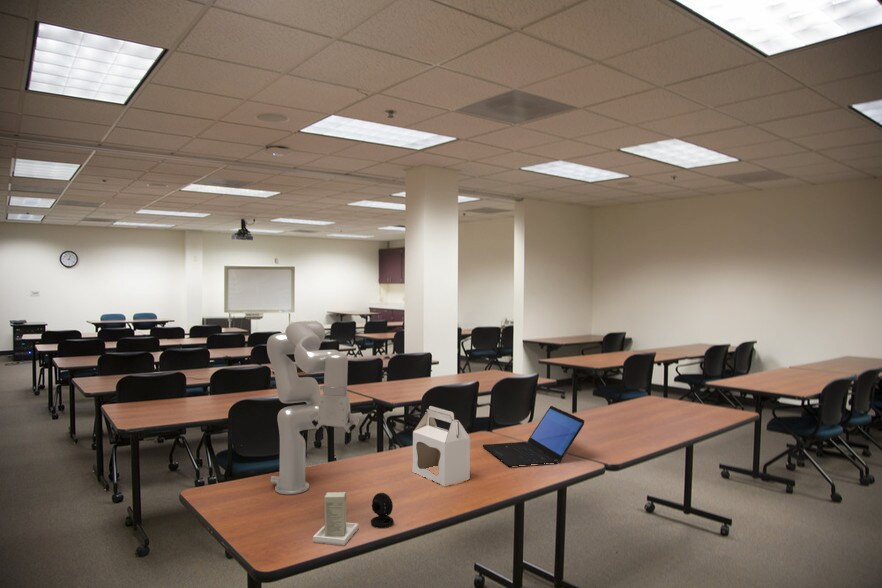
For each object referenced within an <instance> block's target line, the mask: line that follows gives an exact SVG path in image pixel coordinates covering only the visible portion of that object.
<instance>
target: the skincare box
mask: <svg viewBox="0 0 882 588" xmlns="http://www.w3.org/2000/svg"><path fill="white" fill-rule="evenodd" d="M323 501H324V502H323V504H324V505H323V507H324V508H323V509H324V512H323V513H324V525H325V536H344V535H345V533H346V522H347V492H346V491H333V492H332V491H331V492H325V495H324V497H323Z"/></svg>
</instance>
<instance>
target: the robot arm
mask: <svg viewBox="0 0 882 588" xmlns="http://www.w3.org/2000/svg"><path fill="white" fill-rule="evenodd" d="M325 338H326V329H325V327H324V325H323V324H322V323H321V322H319V321H315V320H314V321H295V322H292V323H289V325H287V327H286V329H285V331H284V332H280V333H275V334H274V333H273V334H272V335H270V336H269V337H268V339H267V343H266V351H267V356H268V359H269V362H270V364H271V366H272V369H273V372H274V379H275V387H276V390H277V391H276V392H277V397H278V400H279V401H280V402H281V403H283V404H295V403H304V402H305V404H296V405H291V406H286V407H283V408H282V409H280V410H279V411H278V414H277V419H276V420H277V425H278V432H279V433H278V434H279V474H278V476H276V475H271V476H270V483H272V484H276V485H275V487H274V491H275V492H276V493H277V494H281V495H296V494H301V493H304V492H307V491H308V490H309V489H310V484H309V482H307V481H306V450H307V448H306V445H307V444H306V440H305V438H304V437H303V435H302V434H301V433H300V432H301V431H305V430H306V431H307V430H312V429H315V430H316V439H317V442H321V441H322V440H324V429H325V428H324V427H323V426H326V427H334V428H343V429H344V430H345V432H344V445H345V446H347V445H348V444H350V443H351V441H352V433H353V431H354V430H355V428H357V427H358V424H359V423H360V418H359V417H357V416H356V415H354V414H353V413H351V402H350V397H349V394H347V393H348V372H349V371H348V368H349V365H348V363H349V360H348V359H349V358H348V355H347V354H344V353H342V352H340V351H339V350H337V349H320V348H321V344H322V343H323V341H324V339H325ZM288 355H294V360H295V361H293V360H292V359H291V358H290V357H289V356H288ZM294 362H295V363H294ZM297 368H299V369H300V370H301V371H303V372H304V373H306V374H317V373H319V374H320V373H324V377H323V385H321V386H319V383H318V381H317V379H315V378H314V377H311V376H303V377H299V374H298V369H297ZM321 391H322V393H321ZM351 421H352V422H353V423H352V424H351Z"/></svg>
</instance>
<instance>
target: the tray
mask: <svg viewBox="0 0 882 588" xmlns="http://www.w3.org/2000/svg"><path fill="white" fill-rule="evenodd" d="M358 530H359V523H357V522H356V523H355V522H347V521H346V533H345V535H344V536H325V524H324V525H322V527H321V528H319V530H318V531H316V533H315V534H314V535H313V536H312V543H313V542H315V544H322V543H325V544H324V545H331V544H332V545H333V546H340V545H343V546H342V547H345V546H346V545H345V544H348V542H349V541H350V540H351V539H352V537H353V536H354V535H355V534H356V533H357V531H358ZM355 532H356V533H355ZM354 533H355V534H354ZM353 534H354V535H353ZM350 538H351V539H350ZM349 539H350V540H349ZM348 540H349V541H348ZM344 545H345V546H344Z"/></svg>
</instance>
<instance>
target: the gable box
mask: <svg viewBox="0 0 882 588" xmlns="http://www.w3.org/2000/svg"><path fill="white" fill-rule="evenodd" d="M435 419H436V420H440V421H443V422H447V423H450V425H449V428H448V429H446V428H441V427H438V425H437V422H436V420H435ZM433 466H438V470H439V473H438V475H435V474H434V473H432V472H431V471H430V470H428V469H426V468H429V467H433ZM470 467H471V437H470V436H469V434H468V432H467V430H466V429H465V428H464V426H463V424H462V423H461V422H460V420H458V419H456V417H455V412H454V411H450V410H447V409H444V408H442V407H441V408H440V407H437V406H433V405H429V407H428V408H426V411H425V413H424V415H423V416H422V418H421V419H420V421H419V422H418V424H417V425H416V427H415V428H414V430H412V473H413V472H414V473H417V474H419V475H421V476H423V477H426V478H428V479H430V480H433V481H435V482H438V483H440V484H442V485H444V486H445V485H449V484H453V483H457V482H460V481H464V480H468V479H471V473H470V472H471V468H470ZM414 473H413V474H414ZM417 474H416V475H417ZM419 475H418V476H419ZM421 476H420V477H421ZM423 477H422V478H423ZM428 479H427V480H428ZM430 480H429V481H430Z"/></svg>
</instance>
